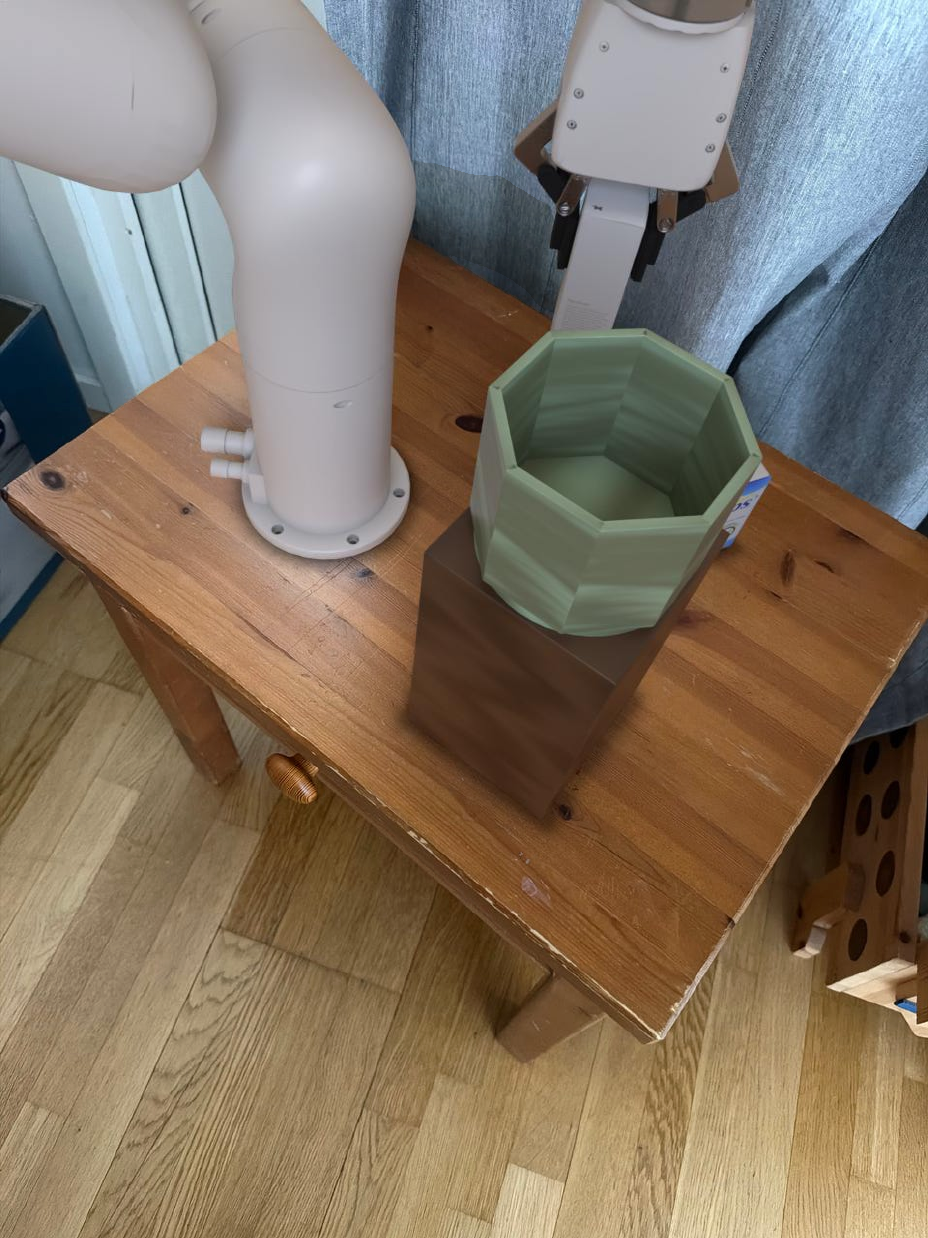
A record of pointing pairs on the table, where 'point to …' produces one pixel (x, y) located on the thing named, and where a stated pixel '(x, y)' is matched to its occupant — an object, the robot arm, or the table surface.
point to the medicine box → (746, 503)
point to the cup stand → (574, 550)
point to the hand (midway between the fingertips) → (599, 260)
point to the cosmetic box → (601, 255)
